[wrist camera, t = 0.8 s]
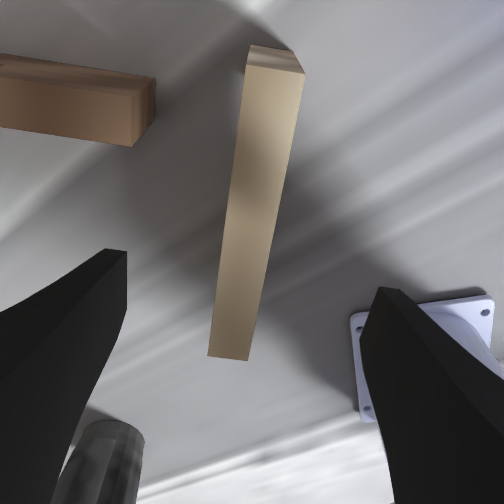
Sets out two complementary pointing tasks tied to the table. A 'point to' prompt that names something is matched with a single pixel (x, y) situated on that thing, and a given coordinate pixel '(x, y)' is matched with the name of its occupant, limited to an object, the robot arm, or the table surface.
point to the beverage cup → (102, 466)
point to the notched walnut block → (74, 100)
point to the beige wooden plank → (254, 194)
